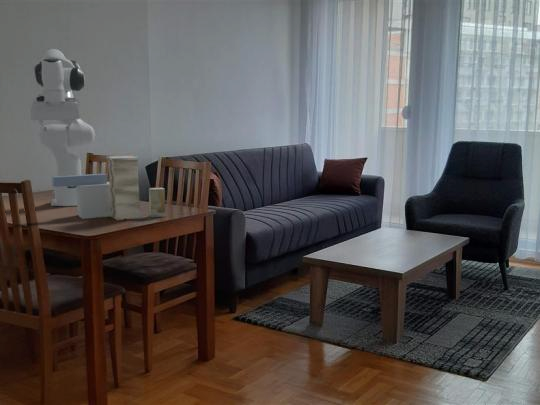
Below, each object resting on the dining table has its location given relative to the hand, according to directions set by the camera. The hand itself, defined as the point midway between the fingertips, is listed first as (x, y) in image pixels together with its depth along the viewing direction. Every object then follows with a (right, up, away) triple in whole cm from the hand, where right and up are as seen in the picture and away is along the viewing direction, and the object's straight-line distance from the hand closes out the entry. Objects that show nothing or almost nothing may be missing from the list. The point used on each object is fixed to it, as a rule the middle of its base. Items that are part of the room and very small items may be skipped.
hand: (56, 130), depth 263 cm
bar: (+9, -23, +4) cm, 25 cm away
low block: (+15, -36, +9) cm, 40 cm away
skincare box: (+42, -37, +6) cm, 56 cm away
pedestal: (+28, -37, +3) cm, 47 cm away
